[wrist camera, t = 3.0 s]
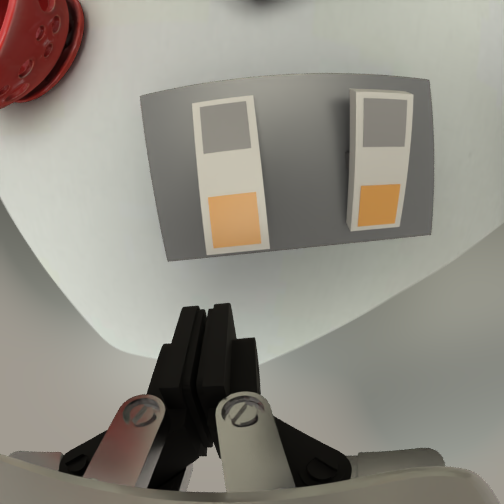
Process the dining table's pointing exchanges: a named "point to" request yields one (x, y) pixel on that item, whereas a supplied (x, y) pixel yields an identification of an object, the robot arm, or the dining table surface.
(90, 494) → the robot arm
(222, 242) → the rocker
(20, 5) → the plant pot
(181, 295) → the dining table surface
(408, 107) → the rocker
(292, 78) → the switch panel
